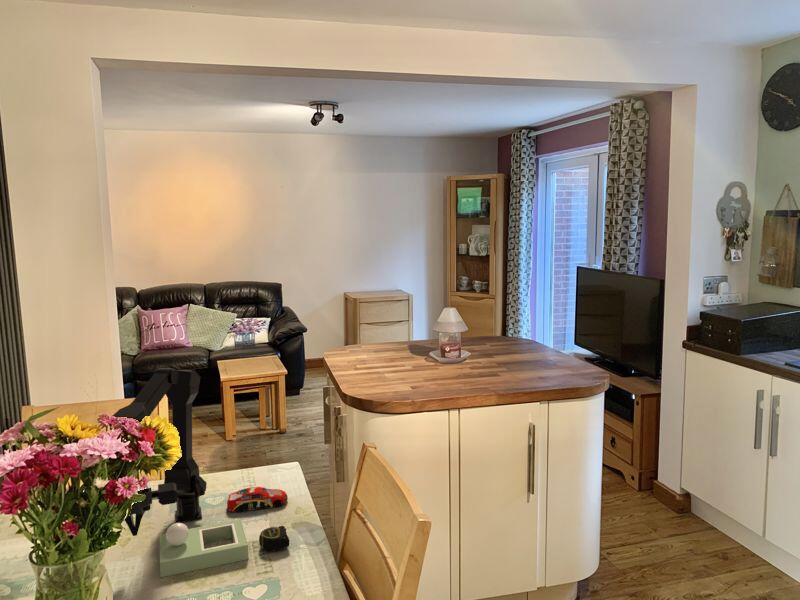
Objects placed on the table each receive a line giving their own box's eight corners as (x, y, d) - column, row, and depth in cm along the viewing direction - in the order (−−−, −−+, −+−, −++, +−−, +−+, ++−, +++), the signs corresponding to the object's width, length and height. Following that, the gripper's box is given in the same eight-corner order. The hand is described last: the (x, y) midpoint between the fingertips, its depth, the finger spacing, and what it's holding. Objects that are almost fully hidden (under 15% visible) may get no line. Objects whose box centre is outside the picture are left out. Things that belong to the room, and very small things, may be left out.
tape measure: (290, 551, 143) (289, 536, 143) (260, 556, 141) (260, 541, 141) (286, 537, 150) (286, 523, 149) (258, 542, 148) (257, 527, 147)
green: (160, 548, 145) (159, 534, 145) (241, 532, 152) (240, 519, 151) (160, 577, 133) (159, 562, 133) (248, 559, 140) (247, 544, 139)
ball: (166, 541, 141) (165, 521, 141) (189, 537, 143) (187, 517, 143) (166, 552, 137) (165, 531, 136) (190, 547, 139) (188, 527, 138)
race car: (286, 497, 172) (286, 480, 171) (288, 507, 166) (288, 490, 165) (227, 504, 168) (226, 487, 167) (227, 515, 161) (226, 497, 161)
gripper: (78, 491, 123) (84, 562, 126) (175, 476, 130) (180, 544, 132) (84, 470, 134) (90, 536, 136) (174, 457, 140) (178, 520, 143)
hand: (135, 534), depth 136 cm, fingers closed
